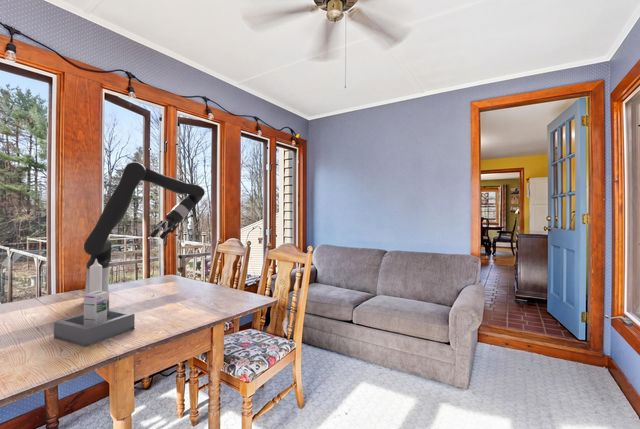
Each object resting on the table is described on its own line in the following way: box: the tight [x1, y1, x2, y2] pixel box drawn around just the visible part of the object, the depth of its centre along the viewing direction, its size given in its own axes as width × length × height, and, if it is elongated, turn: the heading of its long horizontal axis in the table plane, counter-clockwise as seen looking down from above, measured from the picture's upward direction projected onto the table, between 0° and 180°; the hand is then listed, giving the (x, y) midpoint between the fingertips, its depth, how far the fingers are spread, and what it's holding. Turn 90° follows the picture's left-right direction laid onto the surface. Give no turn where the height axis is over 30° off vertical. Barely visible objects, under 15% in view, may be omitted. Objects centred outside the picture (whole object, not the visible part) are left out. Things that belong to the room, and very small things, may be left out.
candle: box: [89, 259, 102, 293], centre depth 136 cm, size 7×7×25 cm
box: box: [53, 307, 136, 348], centre depth 117 cm, size 18×18×6 cm
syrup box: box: [83, 291, 110, 327], centre depth 117 cm, size 6×6×14 cm
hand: (156, 237), depth 152 cm, fingers open, 8 cm apart
